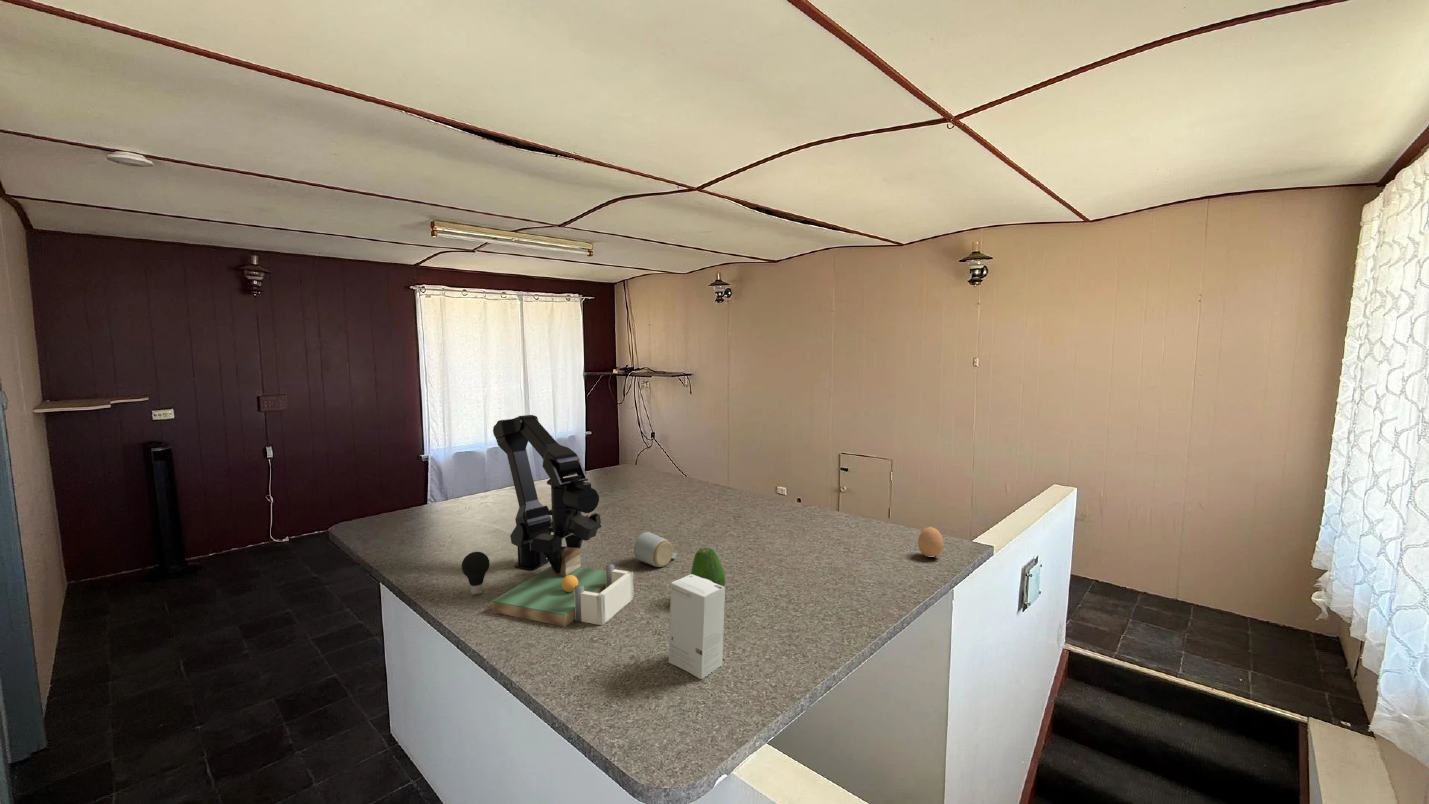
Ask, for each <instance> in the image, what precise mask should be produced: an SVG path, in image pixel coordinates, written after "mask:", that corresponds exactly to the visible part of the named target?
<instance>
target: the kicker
mask: <svg viewBox="0 0 1429 804" xmlns="http://www.w3.org/2000/svg"><path fill="white" fill-rule="evenodd" d="M565 547H566V548H565V549H564V551H563V552H562V554H561V570H560V573H559V574H557V573H555V571H554V570H553V568H552V566H551V565H550V567H551V575H553V576H559V577H566V576H568V575H570V574H572V573H573V572H575V571H577V570H578V569H580V567H582V565H581V561H582V559H581V547H580V548H574V547H567V545H566V546H565Z"/></svg>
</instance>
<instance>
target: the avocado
mask: <svg viewBox="0 0 1429 804" xmlns="http://www.w3.org/2000/svg"><path fill="white" fill-rule="evenodd" d="M692 561H693V562H692V566H691V571H690V575H691V574H693V575H695V576H698V577H701V578H704V579H708V580H710V581H712V582H713V583H716V584H718V585H721V586H723V587H725V585H726V574H725V570H724V568H723V566H722V562H721V561H720V559H719V557H718V555H717V553H716V551H715V550H714V549H713V548H709V547H701V548H700V549H699V550H697V551H696V552H695V555H694V557H693V560H692Z"/></svg>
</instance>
